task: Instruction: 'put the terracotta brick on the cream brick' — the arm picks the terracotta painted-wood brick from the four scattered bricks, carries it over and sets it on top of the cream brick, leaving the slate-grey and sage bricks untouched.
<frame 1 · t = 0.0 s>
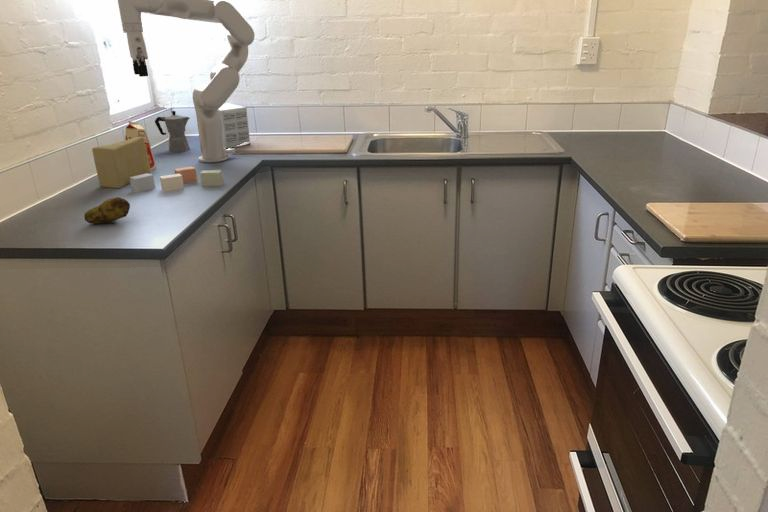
hand: (141, 75, 223), 37 cm above the worktop, tool pointing down, fingers open, 9 cm apart
supplement box: (230, 144, 278), on the worktop
potato: (110, 223, 175), on the worktop
coffeepot: (177, 150, 267), on the worktop
sage brick: (212, 184, 213), on the worktop
cream brick: (173, 189, 208), on the worktop
terracotta brick: (186, 181, 218), on the worktop
cheese: (130, 180, 220), on the worktop
slate brick: (143, 189, 208), on the worktop
milk carton: (141, 169, 235), on the worktop
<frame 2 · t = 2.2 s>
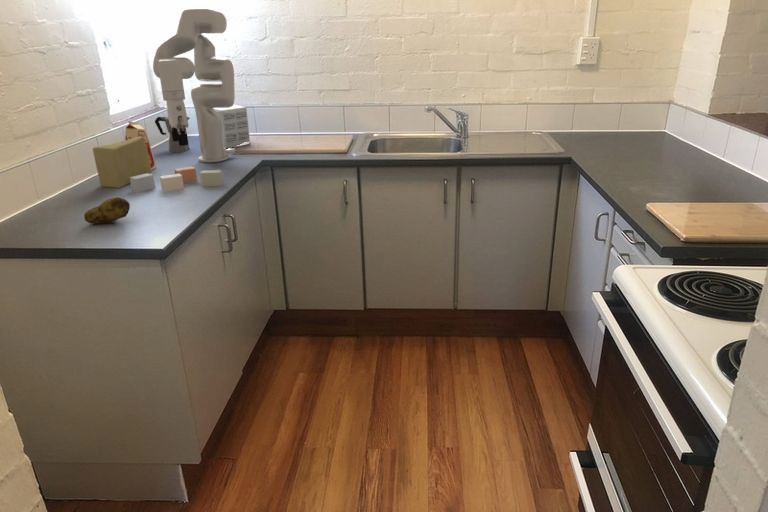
hand: (180, 143, 211), 15 cm above the worktop, tool pointing down, fingers open, 9 cm apart
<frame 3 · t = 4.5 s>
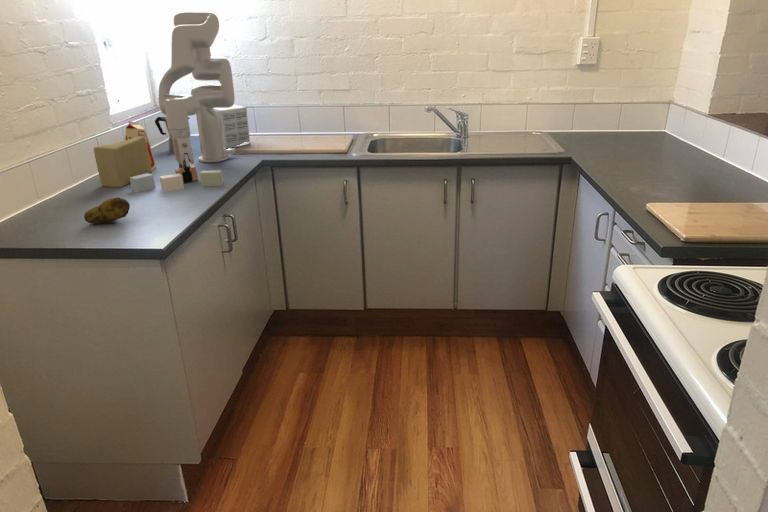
hand: (186, 180, 217), 0 cm above the worktop, tool pointing down, fingers closed on terracotta brick, 3 cm apart
terracotta brick: (188, 180, 218), on the worktop, touching gripper
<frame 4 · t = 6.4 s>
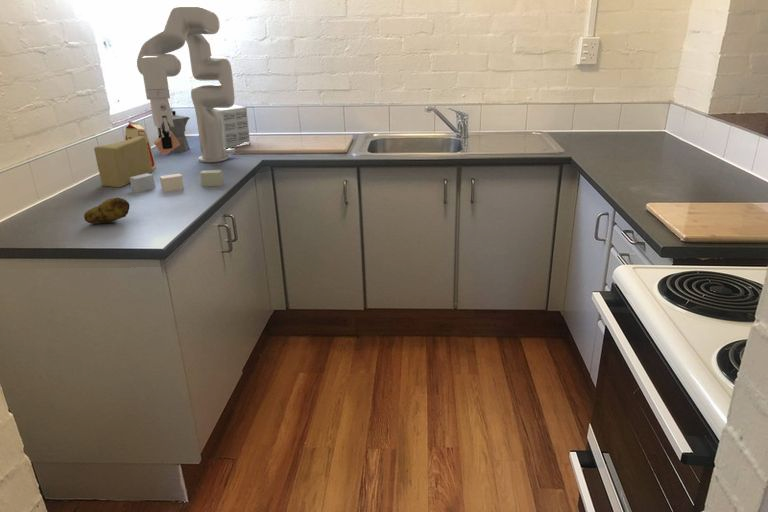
hand: (166, 146, 202), 15 cm above the worktop, tool pointing down, fingers closed on terracotta brick, 3 cm apart
terracotta brick: (171, 149, 203), point 14 cm above the worktop, tilted 26°, touching gripper
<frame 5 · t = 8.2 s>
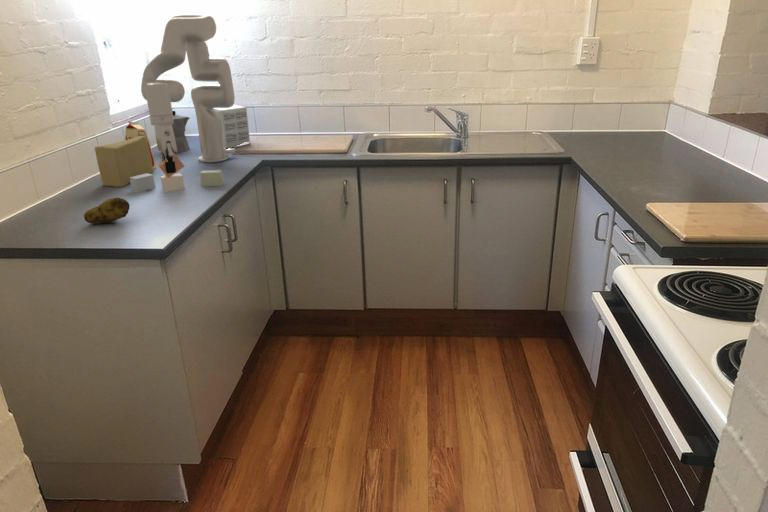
hand: (169, 170, 205), 7 cm above the worktop, tool pointing down, fingers closed on terracotta brick, 3 cm apart
cream brick: (173, 189, 208), on the worktop, touching terracotta brick
terracotta brick: (175, 171, 206), point 7 cm above the worktop, tilted 28°, touching cream brick, gripper
when the fingers open (7 cm above the worktop, at t = 8.7 s): terracotta brick drops 2 cm, resting on cream brick.
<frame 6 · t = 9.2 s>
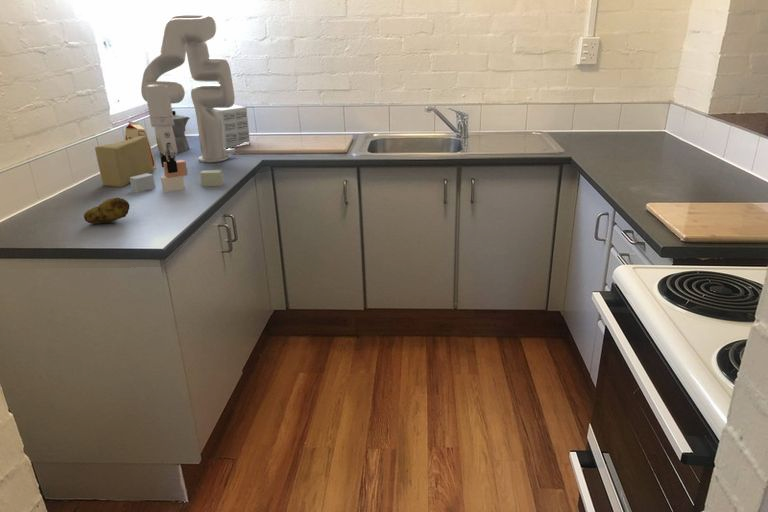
hand: (169, 169, 205), 7 cm above the worktop, tool pointing down, fingers open, 9 cm apart
terracotta brick: (176, 175, 207), point 5 cm above the worktop, touching cream brick
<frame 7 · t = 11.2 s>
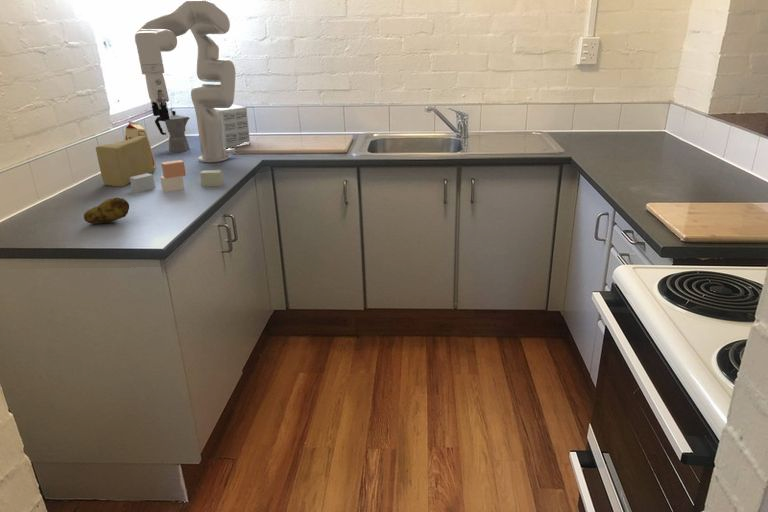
hand: (161, 117, 208), 24 cm above the worktop, tool pointing down, fingers open, 9 cm apart
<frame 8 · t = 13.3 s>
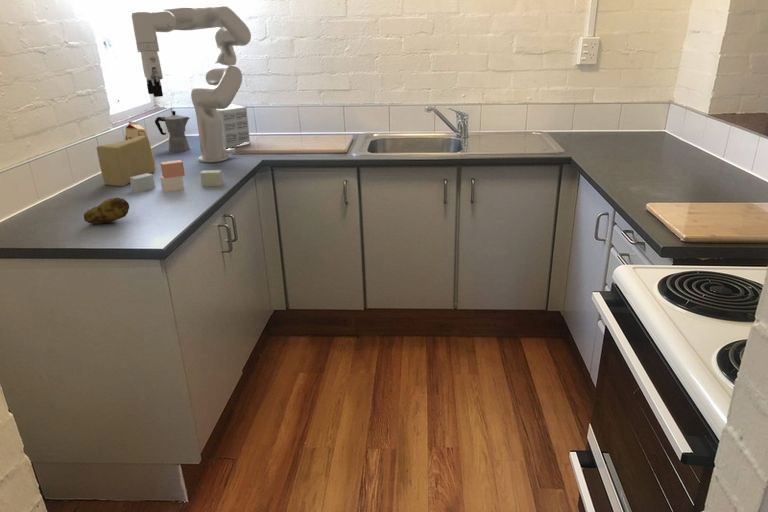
hand: (155, 95, 217), 30 cm above the worktop, tool pointing down, fingers open, 9 cm apart
at the end: terracotta brick 0.9 cm off-centre on the cream brick, point 5.0 cm above the cream brick's base; slate brick moved 0.1 cm from its start; sage brick moved 0.2 cm from its start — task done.
